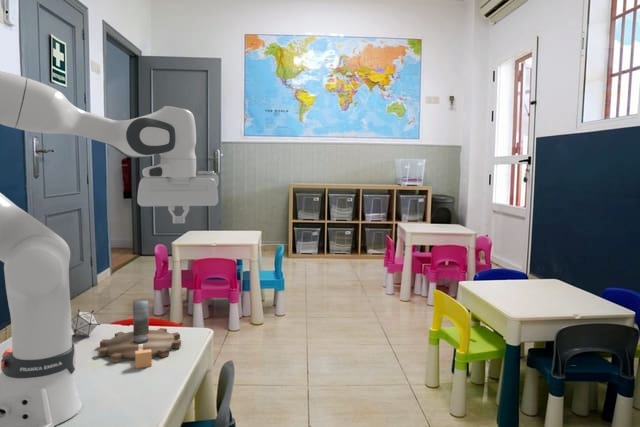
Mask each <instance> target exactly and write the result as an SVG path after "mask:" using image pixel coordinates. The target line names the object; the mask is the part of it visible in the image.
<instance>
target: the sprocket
mask: <svg viewBox="0 0 640 427" xmlns="http://www.w3.org/2000/svg"><path fill="white" fill-rule="evenodd" d="M132 313H133V314H132V318H133V321H132V323H133V324H132V326H133V328H132V329H133V330H132V331H129V332H122V331H118V332H116V333H114V336H113V337H112V338H110V339H106V338H105V339H102V340H100V341H99V348H97V350H98V351H97V354H98V356H99V357H105V356H109V357H110V362H112V363H119V362H121V361H123V360H126V361H127V360H128V361H131V360H132V361H133V360H134V361H135V351H140V350H148V349H151V352H152V358H155V357H157V356H158V357H160V358H161V357H162V358H165V357H167V356H169V355H170V351H171V350H172V349H180V348H179V347H182V340H181V334H180V333H179V332H171V333H170V332H167V331H168V329H167V328H164V327H160V328H158V329H149V328H150V327H149V323H150V320H149V318H150V317H149V300H148V299H136V300H134V301H132ZM178 339H179V340H178Z"/></svg>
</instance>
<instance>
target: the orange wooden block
mask: <svg viewBox="0 0 640 427" xmlns="http://www.w3.org/2000/svg"><path fill="white" fill-rule="evenodd" d="M152 358H153V357H152V352H151V349H148V350H140V351H135V360H134V363H135V364H134V365H135V369H140V368H147V367H148V366H149V367H152V364H153V361H152V360H153V359H152Z"/></svg>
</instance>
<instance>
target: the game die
mask: <svg viewBox="0 0 640 427" xmlns="http://www.w3.org/2000/svg"><path fill="white" fill-rule="evenodd" d="M94 312H95V310H94V309H93V310H92V311H81V309H77V313H76V314H75V315H74V316H73V317H71V325H72V333H73V334H72V338H73V337H76V336H78V335H79V336H87V338H88V339H90V334H91V333H92V332H93V331H94V329H95V328H96V327H97V326H101V323H98V320H97V319H96V317H95V315H94Z"/></svg>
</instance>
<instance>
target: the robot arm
mask: <svg viewBox="0 0 640 427" xmlns="http://www.w3.org/2000/svg"><path fill="white" fill-rule="evenodd" d="M67 98H68V97H66V96H65V94H63V93H62V92H61V91H60V90H58V89H56V88H54V87H52V86H50V85H47V84H46V83H43V82H41V81H37V80H34V79H31V78H28V77H26V76H22V75H18V74H14V73H11V72H6V71H1V70H0V125H2V126H5V127H9V128H12V129H17V130H20V131H21V130H22V131H25V132H30V133H31V132H32V133H38V134H48V135H49V134H50V135H52V134H53V135H56V134H57V135H58V134H59V135H60V134H61V135H62V134H63V135H74V136H77V137H81V138H85V139H88V140H93V141H96V142H99V143H103V144H106V145H108V146H110V147H111V148H113V149H115V150H116V151H117V152H119V153H120V154H121V155H123V156H124V157H128V158H134V159H135V158H141V157H152V156H155V155H159V156H160V162H159V164H154V165H152V166H148V167H144V168H143V169H142V176H143V177H142V178H141V180H140V181H139V183H138V189H137V205H139V206H140V207H167V210H168V212H169V213H170V215H171V217H172V224H186V217H187V215H188V213H189V212H190V207H214V206H217V205H218V204H219V193H218V191H219V190H218V186H219V184H220V182H219V181H220V180H219V179H220V178H219V176H218V174H217V173H215V172H214V171H211V170H208V171H205V170H197V156H196V151H195V149H196V144H197V130H196V129H197V127H196V121H195V116H194V114H193V112H191V110H189V109H187V108H184V107H181V106H177V105H176V106H175V105H165V106H162V108H160V109H159V110H157V111H154V112H152V113H149V114H146V115H143V116H142V115H141V116H139V117H136V118H135V117H134V118H128V119H121V120H119V119H111V118H108V117H105V116H102V115H98V114H95V113H92V112H89V111H85V110H84V109H81V108H79V107H77V106H75V105H74V104H73V103H72V102H71V101H70V100H68V99H67ZM176 207H182V210H183V211H182V212H183V213H182V214H181V215H176V214H175V212H174V211H175V209H176ZM70 249H71V248H70V247H69V245H68V243H67V242H66V241H65V240H64V239H63V238H62V237H61V236H60V235H59V234H57V233H56V232H54V231H53V230H52V229H50V228H49V227H48V226H47V225H45V224H44V223H43V222H41V221H39V220H38V219H36V218H35V217H34V216H33V215H31V214H29V212H26V211H25V210H24V209H22V207H21V208H20V207H19V206H18V205H17V204H15V203H14V202H13V201H11V200H10V199H9V198H8V197H6V196H5V195H4V194H3V193H1V192H0V261H1V262H2V263H3V272H4V280H5V281H4V282H5V291H6V297H7V302H8V303H7V304H8V309H9V310H8V311H9V316H10V326H11V348H8V349H6V350H4V351H3V353H2V356H1V357H2V359H1V361H0V370H1V372H0V427H55V426H57V425H59V424H62V423H63V422H66V421H67V420H69V419H71V418H73V417H75V415H76V414H78V413H79V412H80V411H81V410H82V407H83V402H82V399H81V396H80V393H79V390H78V387H77V381H76V376H75V370H76V350H75V345H74V343H73V334H72V333H73V330H72V325H71V319H72V308H71V307H72V306H71V305H72V304H71V291H70V289H71V288H70V275H69V274H70V272H69V270H70V261H71V260H70V259H71V250H70Z"/></svg>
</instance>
